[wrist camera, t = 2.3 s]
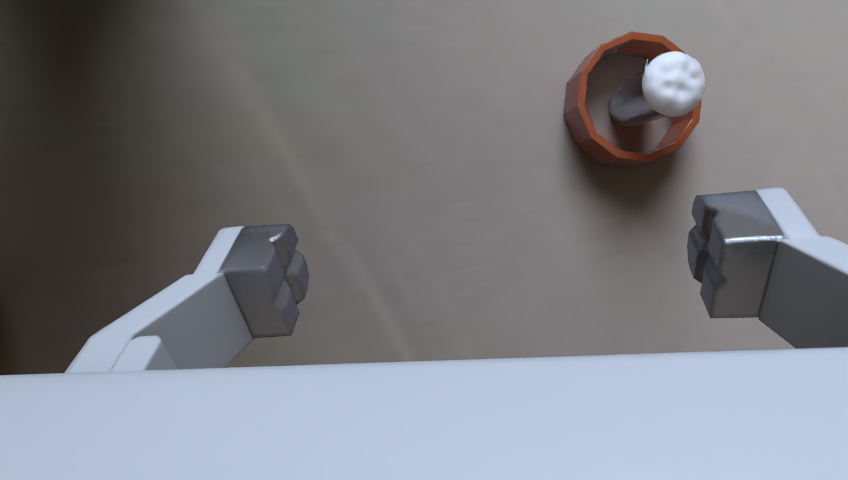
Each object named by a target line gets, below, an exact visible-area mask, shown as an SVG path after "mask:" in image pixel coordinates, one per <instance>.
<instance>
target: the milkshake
mask: <svg viewBox="0 0 848 480" xmlns="http://www.w3.org/2000/svg"><path fill="white" fill-rule="evenodd" d="M647 61H648V60H647ZM647 61H646V64H645V68H644V69H643V70H642V71H640V72H639V73H638V74H637V75H636V76H634V77H633V78H632V79H631V80H630V81H628V82H627V83H626V84H625V85H623V86H622V87H621V88H620V89H619V90H617V91H616V93H615V94H614V96H613V97H612V98H611V100H610V114H611V116H612V117H613V119H614V120H615V122H616V123H618V124H621V125H624V126H627V127H629V126H633V125H637V124H641V123H645V122H649V121H653V120H659V119H664V118H670V117H675V116H681V115H684V114H687V113H688V112H690V111H691V110H692V109H694V108H695V107H696V106H697V105H698V104H699V103H700V101H701V99H702V96H703V93H704V89H705V78H704V74H703V71H702V68H701V66H700V64H699V63H698V62H697V61H696V60H695V59H694V58H693V57H691V56H689V55H687V54H684V53H682V52H678V51H672V52H668V53H664V54H662V55H659V56H657V57H656V58H654V59H653V60H652V61H651V62H650V63H649V64H648V65H647Z"/></svg>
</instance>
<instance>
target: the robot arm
mask: <svg viewBox="0 0 848 480" xmlns="http://www.w3.org/2000/svg"><path fill="white" fill-rule="evenodd" d="M692 215H693V217H694V220H695V222H696V225H695V226H694V227H693V228H692V229H691V230H690V231H689V235H688V244H687V250H688V262H689V266H690V270H691V272H692V275H693V278H694V279H696V280H697V281H699V282H701V283H702V286H701V292H700V295H701V297H702V299H703V302H704V304H705V306H706V309H707V311H708V314H709V316H710V318H748V317H759V320H760V321H761V322H763V323H764V324H765V325H767V326H768V327H769V328H770V329H772V330H773V331H774V332H776V333H777V334H778V335H779V336H781V337H782V338H783V339H785V340H786V341H787V342H788V343H790V344H791V345H792V346H794V347H795V348H796V349H773V350H742V351H713V352H683V353H653V354H624V355H594V356H564V357H535V358H505V359H475V360H444V361H414V362H384V363H354V364H324V365H294V366H264V367H234V368H226V367H227V366H228V365H229V364H230V363H231V362H232V361H233V360H234V359H235V358H236V357H237V356H238V355H239V354H240V353H241V352H242V351H243V350H244V349H245V348H246V347H247V346H248V345H249V344H250V343H251V342H252V341H253V338H263V337H278V336H291V335H292V333H293V330H294V327H295V324H296V321H297V319H298V316H299V310H298V307H297V304H298V303H299V302H301V301H302V300H303V299H304V298H305V296H306V293H307V290H308V278H309V275H308V269H307V264H306V261H305V258H304V256H303V255H302V254H301V253H299V252H298V251H297V250H296V249H295V247H296V245H297V242H298V237H297V235H296V232H295V229H294V227H292V226H291V225H290V224H279V225H259V226H246V227H244V226H240V227H227V228H223V229H221V230H219V232H218V234H217V235H216V237H215V239H214V240H213V242H212V244H211V245H210V247H209V249H208V250H207V252H206V253H205V255H204V257H203V258H202V260H201V262H200V263H199V265H198V267H197V268H196V270H195V272H194V273H193V275H185V276H184V277H182V278H181V279H179V280H178V281H176V282H175V283H173V284H171V285H170V286H168V287H167V288H165V289H164V290H162V291H161V292H159V293H157V294H156V295H154V296H153V297H151V298H150V299H148V300H147V301H145V302H143V303H142V304H140V305H139V306H137V307H136V308H134V309H133V310H131V311H129V312H128V313H126V314H125V315H123V316H122V317H120V318H119V319H117V320H116V321H114V322H112V323H111V324H109V325H108V326H106V327H105V328H103V329H102V330H100V331H98V332H97V333H95V334H94V335H92V336H91V337H90V338H89V339H88V341H87V342H86V343H85V345H84V346H83V347H82V349H81V350H80V352H79V353H78V354H77V356H76V357H75V359H74V360H73V361H72V363H71V364H70V366H69V367H68V368H67V370H66V371H65V373H55V374H25V375H0V480H848V245H847V244H845V243H843V242H841V241H838V240H836V239H834V238H832V237H821V236H820V235H819V234H818V232H817V231H816V230H815V228H814V227H813V226H812V224H811V223H810V222H809V220H808V219H807V218H806V216H805V215H804V214H803V212H802V211H801V210H800V208H799V207H798V205H797V204H796V203H795V201H794V200H793V199H792V197H791V196H790V195H789V193H788V192H787V191H786V189H783V188H781V187H777V188H768V189H758V190H752V191H742V192H730V193H719V194H707V195H696V197H695V200H694V202H693V208H692Z"/></svg>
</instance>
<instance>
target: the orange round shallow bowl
mask: <svg viewBox="0 0 848 480" xmlns="http://www.w3.org/2000/svg"><path fill="white" fill-rule="evenodd" d="M672 51H678V52H682V53H684V54H686V53H685V52H683V51H682V50H681V49H679V48H678V47H677V46H676V45H674V44H673V43H672V42H671V41H669V40H668V39H667V38H665V37H664V36H660V35H653V34H645V33H638V32H628V33H626V34H624V35H622V36H619V37H617V38H615V39H612V40H610V41H608V42H605V43H603V44H601V45H600V46H598V47H597V48H596V49H595V50H594V51H593V52H591V53H590V54H589V55H588V56H587V57H585V59H584V60H583V61H582V63H581V64H580V65H579V67H578V68H577V70H576V71H575V72H574V74H573V75H572V77H571V78H570V79H569V81H568V82H567V88H566V98H565V107H564V116H565V119H566V121H567V123H568V126H569V128H570V130H571V133H572V135H573V138H574V140H575V142H576V144H577V145H578V146H580V147H581V148H582V149H584V150H585V151H586V152H588V153H589V154H590V155H592V156H593V157H594V158H596V159H597V160H598V161H599V162H601V163H607V164H615V165H624V166H635V165H639V164H643V163H647V162H651V161H653V160H655V159H657V158H660V157H662V156H664V155H666V154H669V153H671V152H673V151H675V150H677V149H680V147H681V146H682V145H683V143H684V142H685V140H686V139H687V138H688V136H689V135H690V133H691V132H692V131H693V129H694V128H695V126H696V125H697V124H698V122H699V118H700V108H701V101H700V103H699V104H698V105H697V106H696V107H695V108H694V109H692V110H691V111H690V112H688V113H687V114H684V115H681V116H675V117H672V125H671V127H670V129H669V130H668V131H667V133H666V134H665V136H664V137H663V138H662V140H661V141H660V143H659V144H658V145H657V147H656V148H655V149H653V150H650V151H648V152H646V153H635V152H627V151H620V150H618V149H617V148H616V147H615V146H613V145H612V144H611V143H609V142H608V141H607V140H605V139H604V138H603V137H601V136H600V135H599V134H597V133H596V130H595V128H594V126H593V123H592V121H591V119H590V116H589V114H588V112H587V109H586V107H585V96H586V87H587V78H588V74H589V73H590V71H591V70H592V68H593V67H594V66H595V64H596V63H597V62H598V60H599V59H600V58H603V57H605V56H607V55H610V54H612V53H614V52H617V53H625V54H632V55H640V56H643V57H644V58H645V59H647V60H648V61H649V62H651V61H652V60H653V59H654V58H656V57H657V56H659V55H662V54H664V53H668V52H672Z"/></svg>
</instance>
